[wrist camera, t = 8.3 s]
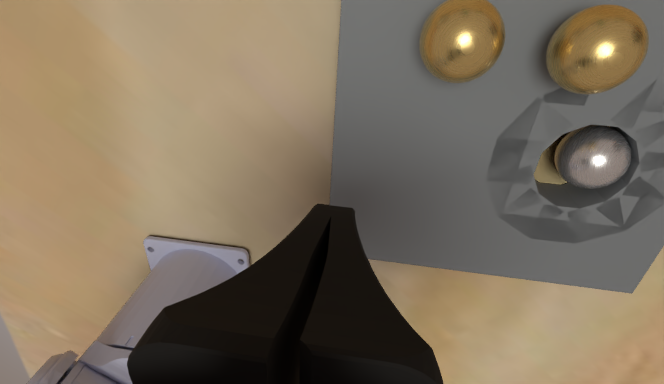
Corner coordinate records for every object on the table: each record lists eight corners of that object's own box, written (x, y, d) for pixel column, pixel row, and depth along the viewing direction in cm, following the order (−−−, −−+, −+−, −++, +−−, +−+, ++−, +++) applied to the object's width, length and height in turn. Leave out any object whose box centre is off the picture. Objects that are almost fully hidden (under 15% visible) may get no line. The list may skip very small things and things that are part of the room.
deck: (332, 229, 25) (326, 253, 23) (348, -24, 18) (342, -23, 16) (610, 264, 24) (632, 293, 22) (764, 2, 16) (820, 7, 14)
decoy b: (600, 85, 16) (642, 108, 14) (524, 79, 17) (551, 100, 14) (634, 4, 15) (690, 11, 12) (550, -2, 15) (585, 5, 12)
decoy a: (483, 75, 17) (500, 96, 14) (411, 69, 17) (415, 88, 14) (504, -5, 15) (528, 1, 12) (424, -10, 15) (430, -6, 13)
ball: (576, 174, 21) (638, 191, 19) (536, 183, 20) (595, 202, 17) (587, 118, 20) (654, 126, 17) (545, 124, 19) (609, 134, 16)
